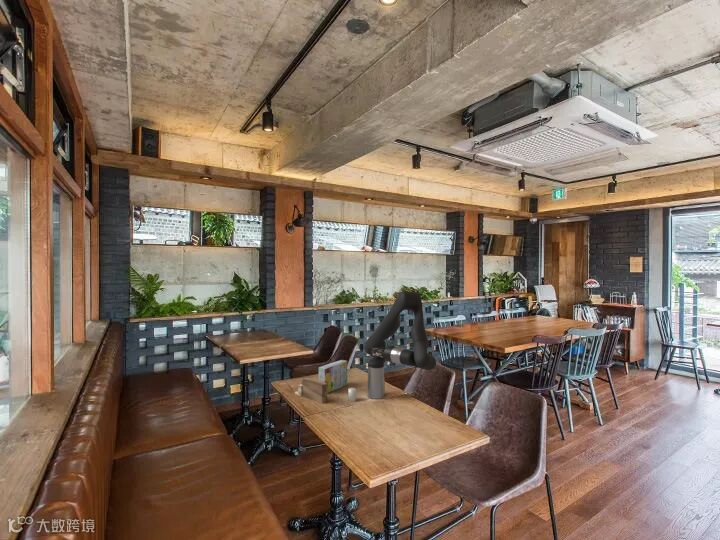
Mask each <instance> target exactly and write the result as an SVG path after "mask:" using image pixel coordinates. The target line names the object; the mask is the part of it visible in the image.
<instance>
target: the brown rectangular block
mask: <svg viewBox="0 0 720 540" xmlns="http://www.w3.org/2000/svg"><path fill="white" fill-rule="evenodd" d="M301 384H302V396H301V397H303V398H306V399H309V400H311V401H313V402H317V403H319V404H324V403H326V402H328V393H327V383H324V382H321V381H319V379H318V380H317V379H314V378H312V379H311V377H305V378H302V380H301Z"/></svg>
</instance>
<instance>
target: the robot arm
mask: <svg viewBox="0 0 720 540" xmlns="http://www.w3.org/2000/svg"><path fill="white" fill-rule="evenodd" d="M403 311H412V313H413V316H414V319H413V323H412V326H411V327H410V328H411V329H410V337H411V341H412V345H413V350H411V349H410V350H409V349H406V348H402V347H398V346H392V345H388V346H387V347H386V340H388V339H389V338H391V337H392V336H394V335H395V334H396V332H397V331H398V329H400V326H401V317H400V315H401V314H402V312H403ZM424 319H425V317H424V309H423V302H422V298H421V295H420V294H419V293H418V292H416V291H408V290H404V291H403V290H402V291H400V293H398V294H397V297H396V298H395V300H394V301H393V304H392V305H391V307H390V308H389V311H388V312H387V313H386V315H385V316H384V318H383V319H382V320H381V322H380V323H379V325H378V326H377V328H376V329H375V331H373V333H372V334H371V335H370V336H368V338H367V339H366V341H365V343H364V351H365V353H366V354H367V355H368V356H372V358H370V359H369V360H368V361H367V397H368V398H369V399H373V400H377V399H379V400H380V399H382V398H384V397H385V395H386V394H385V392H386V391H385V388H386V387H385V384H386V383H385V382H386V379H385V378H384V377H385V363H386V362H387V363H392V364H397V365H405V366H410V367H415V368H418V369H421V370H425V371H432V370H434V369H435V368H436V367H437V360H436V358H435V357H434V356H433V355H432V354H429V353H428V348H429V346H430V342H429V340H428V335H427V332H426V326H425V320H424Z"/></svg>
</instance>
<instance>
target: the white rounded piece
mask: <svg viewBox="0 0 720 540" xmlns="http://www.w3.org/2000/svg"><path fill="white" fill-rule="evenodd" d="M357 389H358V388H356V387H349V388H348V389H347V391H348V395H347V396H348V398H347V400H348V401H349V402H356V401H357V396H358V395H357V394H358V391H357Z"/></svg>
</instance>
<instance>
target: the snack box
mask: <svg viewBox="0 0 720 540" xmlns="http://www.w3.org/2000/svg"><path fill="white" fill-rule="evenodd" d="M318 381H321V382H324V383H327V394H329V393H331V392H333V391H336V390H338V389H341V388H342V387H345V386H347V385H348V360H344V359H340V360H337V361H334V362H331V363H328V364H325V365H322V366H319V367H318Z"/></svg>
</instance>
